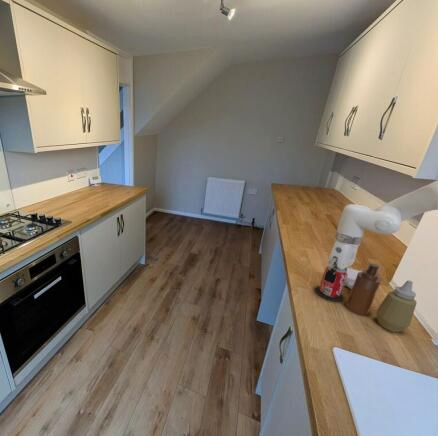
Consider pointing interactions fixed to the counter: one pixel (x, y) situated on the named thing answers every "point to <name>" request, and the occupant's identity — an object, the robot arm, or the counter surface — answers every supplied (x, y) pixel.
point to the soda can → (335, 287)
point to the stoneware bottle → (364, 290)
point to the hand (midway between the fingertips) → (334, 278)
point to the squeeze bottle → (397, 308)
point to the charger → (351, 277)
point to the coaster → (328, 296)
